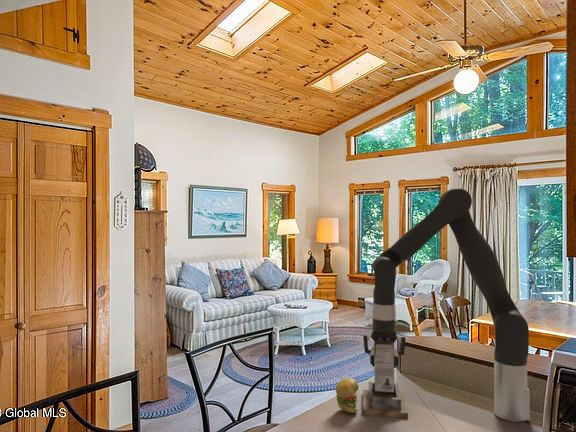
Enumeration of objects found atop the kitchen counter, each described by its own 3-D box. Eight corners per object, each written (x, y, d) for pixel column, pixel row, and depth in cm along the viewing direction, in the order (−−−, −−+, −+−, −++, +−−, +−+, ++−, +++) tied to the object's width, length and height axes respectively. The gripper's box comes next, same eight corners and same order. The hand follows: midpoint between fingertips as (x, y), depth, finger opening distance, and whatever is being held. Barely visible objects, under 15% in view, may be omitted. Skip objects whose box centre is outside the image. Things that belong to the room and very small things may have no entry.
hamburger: (363, 415, 136) (362, 377, 136) (343, 419, 133) (343, 381, 133) (350, 405, 143) (350, 369, 143) (331, 409, 140) (331, 372, 140)
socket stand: (403, 396, 150) (403, 382, 150) (408, 418, 134) (408, 402, 134) (362, 393, 152) (362, 379, 152) (362, 414, 136) (362, 399, 136)
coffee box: (374, 380, 148) (374, 334, 148) (393, 381, 147) (393, 335, 147) (374, 391, 139) (374, 342, 139) (394, 392, 138) (394, 343, 138)
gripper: (405, 314, 145) (405, 363, 145) (362, 313, 148) (362, 361, 148) (407, 320, 138) (407, 371, 138) (362, 318, 140) (362, 369, 141)
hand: (384, 366), depth 143 cm, fingers closed on coffee box, 6 cm apart
